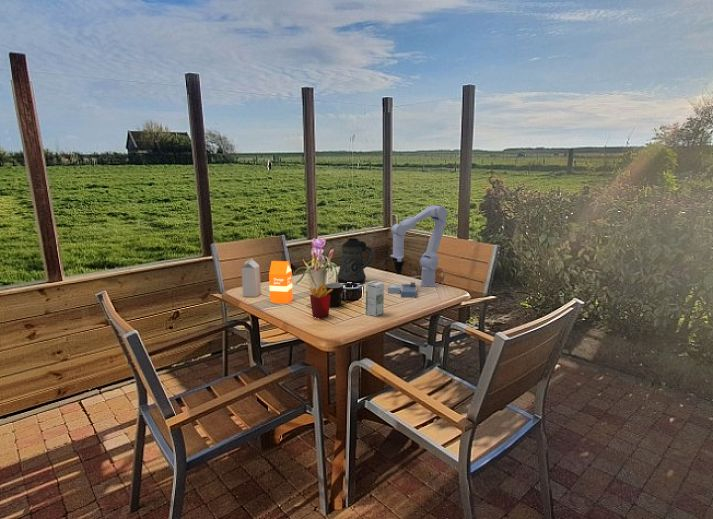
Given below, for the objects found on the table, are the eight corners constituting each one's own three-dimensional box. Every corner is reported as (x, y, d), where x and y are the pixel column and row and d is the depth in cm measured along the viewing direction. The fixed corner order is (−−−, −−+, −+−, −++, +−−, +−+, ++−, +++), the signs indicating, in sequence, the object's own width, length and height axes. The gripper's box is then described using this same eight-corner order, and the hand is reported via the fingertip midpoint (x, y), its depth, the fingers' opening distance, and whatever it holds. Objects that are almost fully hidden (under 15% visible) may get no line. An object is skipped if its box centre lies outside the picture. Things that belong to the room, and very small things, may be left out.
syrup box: (373, 311, 192) (373, 280, 189) (383, 313, 188) (384, 282, 185) (365, 314, 188) (365, 282, 185) (376, 317, 184) (376, 284, 181)
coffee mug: (335, 309, 194) (335, 288, 192) (321, 306, 199) (321, 285, 197) (351, 303, 203) (351, 283, 201) (337, 300, 208) (337, 280, 206)
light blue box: (388, 290, 225) (388, 284, 224) (400, 290, 224) (400, 284, 224) (387, 293, 219) (387, 287, 218) (400, 293, 218) (400, 287, 218)
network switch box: (401, 289, 226) (401, 281, 225) (415, 290, 225) (415, 282, 224) (400, 297, 212) (401, 288, 211) (415, 297, 211) (416, 289, 210)
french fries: (309, 316, 185) (308, 283, 182) (324, 312, 191) (323, 280, 187) (322, 321, 179) (321, 287, 176) (337, 316, 184) (336, 283, 181)
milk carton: (261, 293, 221) (259, 257, 217) (256, 297, 214) (254, 260, 210) (247, 293, 221) (245, 257, 218) (243, 296, 215) (240, 260, 211)
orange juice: (287, 303, 203) (285, 263, 199) (270, 302, 205) (268, 262, 201) (292, 298, 211) (291, 259, 207) (276, 298, 212) (274, 259, 208)
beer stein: (334, 279, 248) (333, 237, 243) (365, 276, 254) (365, 235, 249) (341, 286, 233) (340, 241, 228) (374, 283, 238) (374, 239, 233)
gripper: (389, 244, 229) (389, 269, 231) (391, 249, 214) (391, 275, 217) (402, 244, 229) (402, 269, 231) (405, 249, 214) (405, 275, 217)
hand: (397, 272), depth 224 cm, fingers open, 7 cm apart
